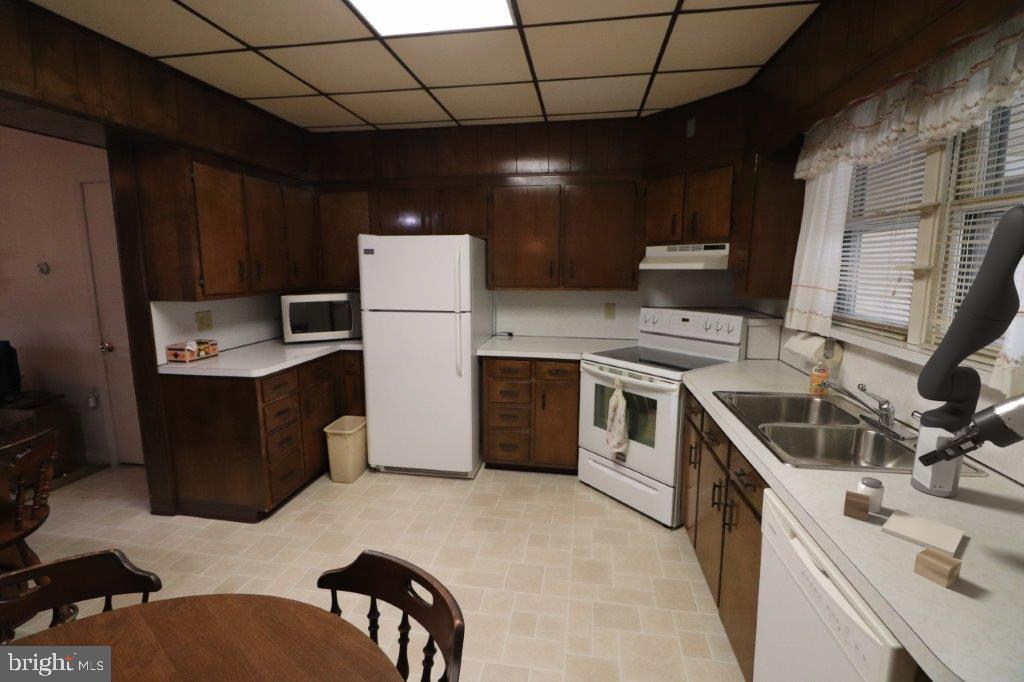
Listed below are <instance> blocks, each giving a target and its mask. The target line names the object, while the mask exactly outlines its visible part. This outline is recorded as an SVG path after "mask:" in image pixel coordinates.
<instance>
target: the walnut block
mask: <svg viewBox="0 0 1024 682" xmlns="http://www.w3.org/2000/svg"><path fill="white" fill-rule="evenodd" d="M869 504H870V502H869V496H868V495H863V494H859V493H857V492H854V491H850V490H846V491H845V499H844V505H843V516H845V517H848V518H853V519H857V520H859V521H864V522H868V517H869V512H868V511H869Z"/></svg>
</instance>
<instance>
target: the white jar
mask: <svg viewBox="0 0 1024 682" xmlns="http://www.w3.org/2000/svg"><path fill="white" fill-rule="evenodd" d="M856 493H859V494H863V495H868V496H869V502H870V504H869V511H868V513H873V514H878V513H881V511H882V505H883V499H884V493H885V486H884V485H883V481H882V480H879V479H878V478H875V477H869V476H864V477H863V476H862V477H861V479H860V480H859V481H858V485H857V491H856Z"/></svg>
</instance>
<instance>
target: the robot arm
mask: <svg viewBox="0 0 1024 682" xmlns="http://www.w3.org/2000/svg"><path fill="white" fill-rule="evenodd" d="M1023 257H1024V204H1021V205H1016V206H1013V207H1012V208H1010V209H1009V210H1007V211H1006V212H1005V213H1004V214H1003V215H1002V217H1001V218H1000V219H999V221H998V223H997V225H996V227H995V228H994V232H993V233H992V236H991V238H990V242H989V244H988V247H987V250H986V252H985V254H984V257H983V260H982V263H981V264H980V267H979V269H978V271H977V273H976V275H975V277H974V280H973V281H972V284H971V286H970V288H969V289H968V292H967V293H966V295H965V297H964V298H963V299H962V302H961V303H960V305H959V307H958V309H957V311H956V313H955V315H954V317H953V319H952V321H951V323H950V325H949V327H948V328H947V331H946V333H945V334H944V336H943V337H942V339H941V341H940V343H939V345H938V346H937V348H936V349H935V350H934V352H933V353H932V355H931V356H930V357H929V359H928V360H927V362H926V363H925V364H924V366H923V367H922V369H921V371H920V373H919V375H918V378H917V383H916V388H917V392H918V394H919V396H920V397H921V398H923V399H924V400H928V401H931V402H941V403H942V402H944V404H942V405H941V406H938V407H937V408H933V409H929V410H925V411H924V412H922V414H921V415H920V421H919V426H918V427H919V428H918V433H917V434H918V435H917V439H916V447H915V452H914V453H915V454H914V458H913V465H912V471H911V475H910V477H911V478H910V486H911V487H913V488H914V489H916V490H918V491H921V492H923V493H925V494H929V495H932V496H935V497H943V498H954V497H956V496H957V494H958V489H959V483H960V480H961V479H960V478H961V474H962V473H961V472H962V468H963V467H962V466H963V463H964V462H963V461H964V456H965V455H966V454H968V453H971V452H974V451H975V452H976V450H978V449H980V448H983V445H984V444H985V442H986V441H988V442H990V443H992V444H993V445H994V446H996V447H997V448H1006V447H1009V446H1012V445H1014V444H1017V443H1019V442H1022V441H1024V392H1022V393H1019V394H1016V395H1013V396H1010V397H1007V398H1006V399H1002V400H1000V401H999V402H996V403H994V404H993V405H990V406H988V407H986V408H984V409H981V410H979V411H976V410H977V405H978V403H979V398H980V394H981V389H982V381H981V380H982V379H981V377H980V374H979V372H978V371H977V370H976V369H975V368H973V367H971V366H966V365H965V366H964V365H960V364H961V363H962V362H963V361H964V360H967V358H969V357H971V356H972V355H974V354H975V353H977V352H978V351H981V350H982V349H984V348H987V346H989V345H991V344H993V343H994V342H996V341H997V340H999V339H1000V338H1001V337H1002V336H1004V335H1005V333H1006V331H1008V329H1009V327H1010V326H1011V324H1012V323H1013V321H1014V319H1015V317H1017V314H1018V312H1019V311H1020V310H1019V309H1020V306H1021V305H1020V303H1021V301H1020V295H1019V292H1018V289H1017V287H1016V283H1015V272H1016V270H1017V269H1018V266H1019V264H1020V262H1021V261H1022V258H1023ZM972 423H973V424H972ZM921 427H929V428H942V429H944V430H946V431H948V432H950V433H952V434H953V435H956V436H954V437H952V438H950V439H948V440H946V441H945V445H943V446H941V447H938V448H936V449H935V450H933V451H931V452H929V453H926V454H924V455H922V456H920V457H919V458H918V459H919V461H920V462H921V463H922V464H923V465H924V466H930V465H932V464H935V463H937V462H939V461H942V460H945V461H950V460H951V459H954V458H956V457H957V460H956V467H955V473H954V479H953V485H952V491H943V490H931V489H928V488H927V487H926V486H924V485H923V484H921V483H920V482H919V481H917V480H916V479H914V478H913V473H914V466H915V460H916V453H917V447H918V440H919V434H920V428H921ZM949 448H950V449H951V450H952V451H953V453H951V454H948V453H947V452H946V451H945V450H946V449H949Z"/></svg>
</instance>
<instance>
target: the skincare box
mask: <svg viewBox="0 0 1024 682" xmlns="http://www.w3.org/2000/svg"><path fill="white" fill-rule="evenodd" d="M954 436H956V435H953V434H952V433H950V432H948V431H946V430H944V429H942V428H929V427H921V428H920V434H919V440H918V447H917V453H916V460H915V466H914V473H913V478H914V479H916V480H917V481H919V482H920V483H921V484H923V485H924V486H926V487H927V488H928V489H931V490H943V491H952V485H953V479H954V473H955V467H956V460H957V457H956V458H954V459H951V460H950V461H945V460H942V461H939V462H937V463H935V464H932V465H930V466H924V465H923V464H922V463H921V462H920V461H919V459H918V458H919V457H920V456H922V455H924V454H926V453H929V452H931V451H933V450H935V449H936V448H938V447H941V446H943V445H945V441H946V440H948V439H950V438H952V437H954ZM945 451H946V452H947V453H948V454H951V453H953V451H952V450H951V449H950V448H949V449H946V450H945Z"/></svg>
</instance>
